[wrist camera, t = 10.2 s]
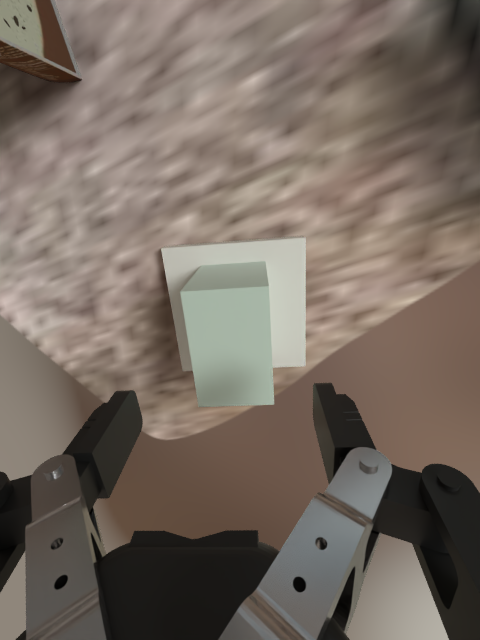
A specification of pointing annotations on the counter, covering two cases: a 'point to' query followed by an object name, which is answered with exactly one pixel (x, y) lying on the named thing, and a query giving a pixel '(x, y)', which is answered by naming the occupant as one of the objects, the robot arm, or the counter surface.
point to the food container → (36, 40)
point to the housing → (230, 334)
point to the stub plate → (283, 279)
